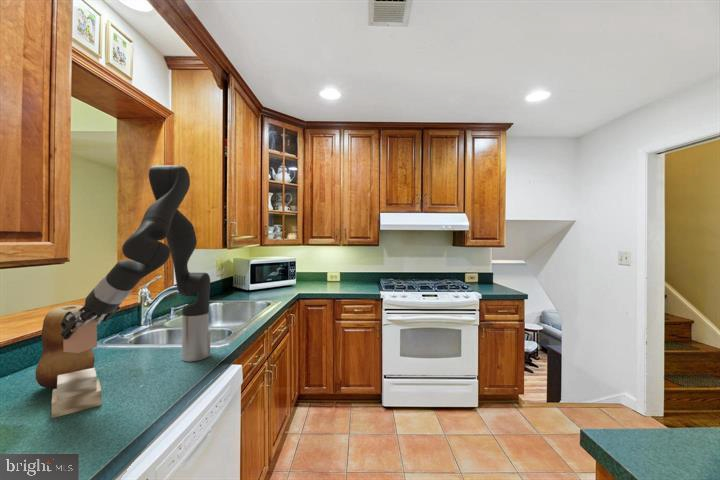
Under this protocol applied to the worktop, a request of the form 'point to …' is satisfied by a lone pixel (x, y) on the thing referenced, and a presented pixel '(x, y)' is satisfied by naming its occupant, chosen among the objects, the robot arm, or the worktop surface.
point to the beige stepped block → (76, 392)
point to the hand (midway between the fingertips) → (74, 333)
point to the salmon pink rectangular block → (82, 338)
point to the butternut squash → (59, 350)
